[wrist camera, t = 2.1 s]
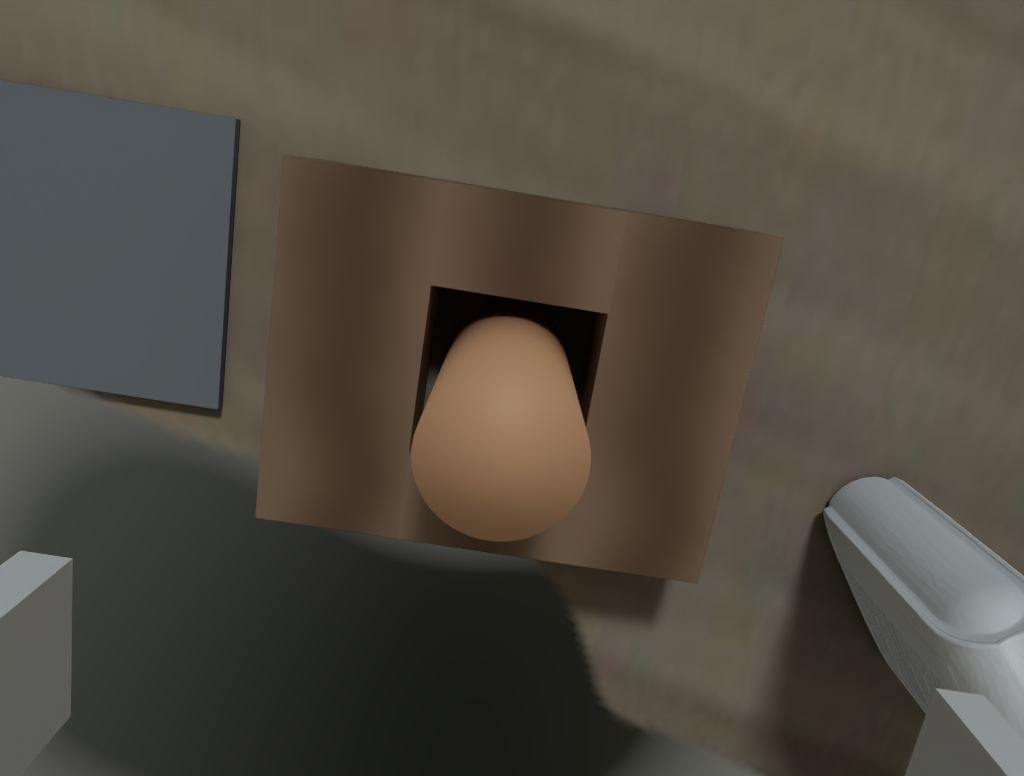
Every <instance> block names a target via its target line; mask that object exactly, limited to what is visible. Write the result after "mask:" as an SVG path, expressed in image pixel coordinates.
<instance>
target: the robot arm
mask: <svg viewBox="0 0 1024 776" xmlns="http://www.w3.org/2000/svg"><path fill="white" fill-rule="evenodd" d="M72 563H73V559H72V558H65V557H58V556H52V555H45V554H39V553H32V552H25V551H20V552H18V553H17V554H15V555H14V556H13V557H11V558H10V559H9V560H7V561H6V562H4V563H3V564H2V565H0V776H20V774H21V773H22V772H23V771H24V770H25V769H26V768H27V766H28V765H29V764H30V763H31V762H32V761H33V759H34V758H35V757H36V756H37V755H38V754H39V752H40V751H41V750H42V749H43V748H44V746H45V745H46V744H47V743H48V742H49V741H50V739H51V738H52V737H53V736H54V735H55V734H56V732H57V731H58V730H59V729H60V728H61V727H62V725H63V724H64V723H65V722H66V721H67V720H68V718H69V717H70V716H71V643H72V642H71V641H72ZM905 776H1024V739H1023V738H1022V737H1021V736H1020V735H1019V734H1018V732H1017V731H1016V730H1015V729H1014V728H1013V727H1012V726H1011V725H1010V724H1009V723H1008V721H1007V720H1006V719H1005V718H1004V717H1003V716H1002V715H1001V714H1000V713H999V711H998V710H997V709H996V708H995V707H994V706H993V705H992V704H991V703H990V701H989V700H988V699H987V698H986V697H985V696H984V695H978V694H971V693H964V692H958V691H951V690H944V689H938V688H935V691H934V693H933V696H932V699H931V702H930V705H929V708H928V710H927V713H926V716H925V719H924V722H923V725H922V728H921V730H920V733H919V736H918V739H917V742H916V745H915V747H914V750H913V753H912V756H911V759H910V762H909V764H908V767H907V770H906V773H905Z"/></svg>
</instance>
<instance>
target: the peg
mask: <svg viewBox="0 0 1024 776" xmlns="http://www.w3.org/2000/svg"><path fill="white" fill-rule="evenodd" d="M411 462H412V471H413V475H414V479H415V482H416V485H417V488H418V490H419V492H420V494H421V496H422V498H423V499H424V501H425V502H426V504H427V505H428V506H429V508H430V509H431V510H432V511H433V512H434V513H435V514H436V515H437V516H438V517H439V518H440V519H441V520H442V521H444V522H445V523H446V524H447V525H449V526H451V527H452V528H454V529H455V530H457V531H459V532H461V533H463V534H465V535H468V536H471V537H474V538H478V539H482V540H487V541H497V542H503V541H516V540H522V539H526V538H529V537H533V536H535V535H538V534H540V533H542V532H544V531H546V530H548V529H550V528H551V527H553V526H554V525H556V524H557V523H558V522H560V521H561V520H562V519H563V518H564V517H565V516H566V515H567V514H568V513H569V512H570V511H571V510H572V509H573V508H574V506H575V505H576V504H577V502H578V500H579V499H580V497H581V495H582V494H583V491H584V489H585V487H586V484H587V481H588V477H589V474H590V466H591V449H590V442H589V438H588V434H587V430H586V426H585V423H584V419H583V415H582V412H581V408H580V404H579V401H578V397H577V393H576V389H575V386H574V382H573V378H572V375H571V371H570V367H569V364H568V360H567V356H566V352H565V349H564V345H563V342H562V339H561V337H560V335H559V333H558V331H557V330H556V328H555V327H554V326H553V324H552V323H551V322H550V321H549V320H548V319H547V318H546V317H545V316H543V315H542V314H541V313H539V312H538V311H536V310H534V309H532V308H529V307H527V306H524V305H519V304H513V303H501V304H495V305H491V306H488V307H485V308H483V309H481V310H479V311H477V312H475V313H474V314H472V315H471V316H470V317H469V318H468V319H466V321H465V322H464V323H463V324H462V325H461V326H460V328H459V329H458V331H457V332H456V334H455V336H454V338H453V341H452V343H451V346H450V348H449V350H448V353H447V355H446V358H445V360H444V362H443V365H442V367H441V370H440V372H439V374H438V377H437V379H436V382H435V384H434V387H433V389H432V391H431V394H430V396H429V399H428V401H427V403H426V406H425V408H424V411H423V413H422V415H421V418H420V420H419V423H418V425H417V428H416V431H415V434H414V438H413V442H412V450H411Z"/></svg>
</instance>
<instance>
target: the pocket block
mask: <svg viewBox="0 0 1024 776" xmlns="http://www.w3.org/2000/svg"><path fill="white" fill-rule="evenodd" d="M783 241H784V238H781V237H776V236H772V235H767V234H763V233H758V232H753V231H748V230H742V229H736V228H730V227H724V226H718V225H712V224H706V223H700V222H694V221H688V220H682V219H676V218H670V217H664V216H658V215H652V214H646V213H640V212H634V211H628V210H621V209H615V208H609V207H603V206H597V205H591V204H585V203H579V202H573V201H567V200H561V199H555V198H549V197H543V196H537V195H531V194H525V193H519V192H513V191H507V190H501V189H495V188H489V187H483V186H477V185H471V184H465V183H459V182H453V181H447V180H441V179H435V178H429V177H422V176H416V175H410V174H404V173H398V172H392V171H386V170H380V169H374V168H368V167H362V166H356V165H350V164H344V163H338V162H332V161H326V160H320V159H314V158H305V157H296V156H286V155H284V158H283V171H282V184H281V197H280V209H279V222H278V235H277V248H276V261H275V273H274V286H273V299H272V312H271V325H270V338H269V350H268V363H267V376H266V389H265V402H264V414H263V427H262V440H261V453H260V466H259V479H258V492H257V504H256V518H261V519H268V520H276V521H282V522H288V523H295V524H302V525H309V526H315V527H322V528H329V529H336V530H342V531H349V532H355V533H362V534H369V535H375V536H382V537H388V538H395V539H402V540H408V541H415V542H422V543H428V544H435V545H442V546H449V547H455V548H462V549H469V550H476V551H482V552H489V553H496V554H502V555H509V556H516V557H522V558H529V559H535V560H542V561H549V562H555V563H562V564H569V565H576V566H582V567H589V568H596V569H602V570H609V571H616V572H622V573H629V574H636V575H642V576H649V577H656V578H662V579H669V580H676V581H682V582H689V583H696V584H698V580H699V576H700V572H701V568H702V564H703V560H704V556H705V552H706V548H707V544H708V540H709V536H710V532H711V528H712V524H713V520H714V516H715V512H716V508H717V504H718V500H719V496H720V492H721V488H722V484H723V480H724V476H725V472H726V468H727V464H728V460H729V456H730V452H731V448H732V444H733V440H734V436H735V432H736V428H737V424H738V420H739V416H740V412H741V408H742V404H743V400H744V396H745V392H746V388H747V384H748V380H749V376H750V373H751V369H752V365H753V361H754V357H755V353H756V349H757V345H758V341H759V337H760V333H761V329H762V325H763V321H764V317H765V313H766V309H767V305H768V301H769V297H770V293H771V289H772V285H773V281H774V277H775V273H776V269H777V265H778V261H779V257H780V253H781V249H782V245H783ZM440 287H445V288H451V289H457V290H463V291H469V292H476V293H482V294H488V295H494V296H500V297H507V298H513V299H519V300H525V301H532V302H538V303H544V304H550V305H556V306H563V307H569V308H575V309H581V310H587V311H594V312H595V313H594V318H593V324H592V329H591V334H590V339H589V345H588V350H587V355H586V360H585V365H584V371H583V376H582V381H581V386H580V392H579V397H578V401H579V404H580V408H581V412H582V415H583V419H584V423H585V426H586V430H587V434H588V438H589V442H590V449H591V466H590V474H589V477H588V481H587V484H586V487H585V489H584V491H583V494H582V495H581V497H580V499H579V500H578V502H577V504H576V505H575V506H574V508H573V509H572V510H571V511H570V512H569V513H568V514H567V515H566V516H565V517H564V518H563V519H562V520H561V521H560V522H558V523H557V524H556V525H554V526H553V527H551V528H550V529H548V530H546V531H544V532H542V533H540V534H538V535H535V536H533V537H529V538H526V539H522V540H516V541H503V542H497V541H487V540H482V539H478V538H474V537H471V536H468V535H465V534H463V533H461V532H459V531H457V530H455V529H454V528H452V527H451V526H449V525H447V524H446V523H445V522H444V521H442V520H441V519H440V518H439V517H438V516H437V515H436V514H435V513H434V512H433V511H432V510H431V509H430V508H429V506H428V505H427V504H426V502H425V501H424V499H423V498H422V496H421V494H420V492H419V490H418V488H417V485H416V482H415V479H414V475H413V471H412V462H411V450H412V442H413V438H414V434H415V431H416V428H417V425H418V423H419V420H420V418H421V415H422V413H423V406H424V399H425V391H426V384H427V376H428V369H429V362H430V354H431V347H432V340H433V332H434V325H435V317H436V310H437V303H438V295H439V288H440Z"/></svg>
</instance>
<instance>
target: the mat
mask: <svg viewBox="0 0 1024 776" xmlns="http://www.w3.org/2000/svg"><path fill="white" fill-rule="evenodd" d="M239 132H240V120H238V119H233V118H227V117H221V116H215V115H209V114H203V113H197V112H191V111H185V110H179V109H173V108H167V107H161V106H155V105H149V104H143V103H137V102H131V101H125V100H119V99H113V98H107V97H101V96H95V95H89V94H83V93H77V92H71V91H65V90H59V89H53V88H47V87H41V86H35V85H29V84H23V83H18V82H12V81H6V80H0V376H4V377H11V378H17V379H24V380H30V381H37V382H43V383H50V384H56V385H62V386H69V387H75V388H82V389H88V390H95V391H101V392H108V393H114V394H121V395H127V396H134V397H140V398H147V399H153V400H160V401H166V402H173V403H179V404H186V405H192V406H199V407H205V408H212V409H219V408H221V407H222V403H223V387H224V371H225V355H226V339H227V323H228V307H229V291H230V276H231V260H232V244H233V228H234V212H235V196H236V180H237V164H238V148H239Z"/></svg>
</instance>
